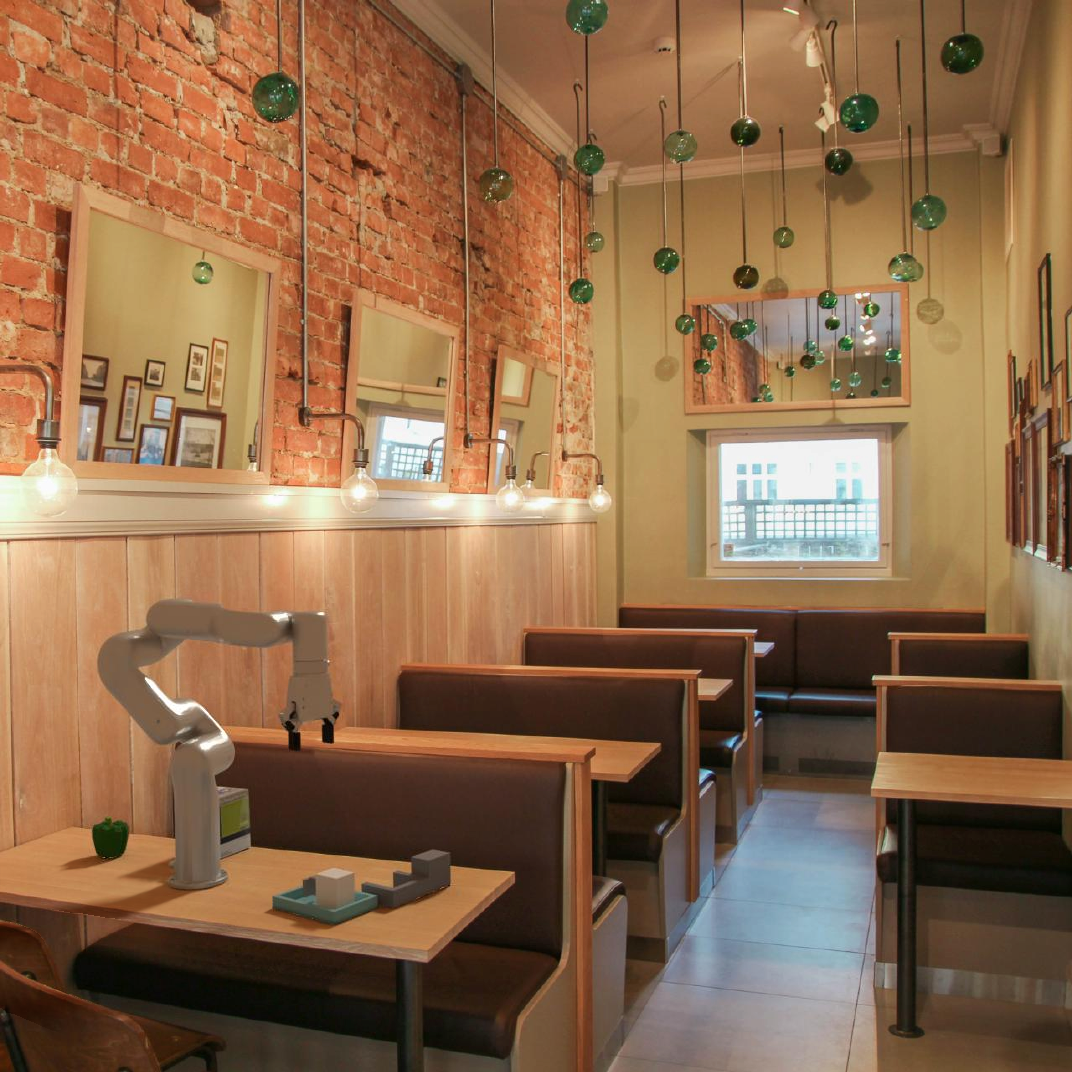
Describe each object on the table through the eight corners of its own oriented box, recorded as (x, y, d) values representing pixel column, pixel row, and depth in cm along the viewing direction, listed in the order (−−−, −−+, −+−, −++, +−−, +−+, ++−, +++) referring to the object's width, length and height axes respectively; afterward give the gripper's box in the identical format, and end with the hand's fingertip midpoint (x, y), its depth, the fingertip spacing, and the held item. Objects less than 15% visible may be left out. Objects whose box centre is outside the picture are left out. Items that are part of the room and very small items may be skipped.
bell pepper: (107, 850, 273) (106, 809, 273) (135, 852, 270) (135, 811, 271) (84, 859, 265) (83, 818, 265) (113, 862, 262) (112, 820, 262)
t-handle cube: (301, 904, 228) (300, 870, 228) (319, 897, 232) (318, 864, 232) (337, 913, 222) (336, 878, 222) (355, 906, 226) (354, 872, 226)
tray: (272, 908, 228) (272, 896, 228) (316, 892, 237) (316, 880, 237) (334, 924, 217) (334, 912, 217) (377, 907, 227) (377, 895, 227)
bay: (361, 900, 231) (361, 866, 231) (419, 878, 246) (419, 846, 246) (393, 908, 226) (392, 873, 226) (450, 885, 241) (450, 852, 241)
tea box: (220, 844, 277) (219, 784, 277) (251, 848, 273) (250, 788, 273) (175, 860, 264) (174, 797, 264) (208, 865, 259) (207, 801, 259)
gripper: (327, 663, 251) (328, 738, 251) (267, 671, 237) (269, 751, 237) (351, 664, 247) (352, 741, 247) (291, 673, 233) (293, 755, 233)
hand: (311, 746), depth 242 cm, fingers open, 9 cm apart
